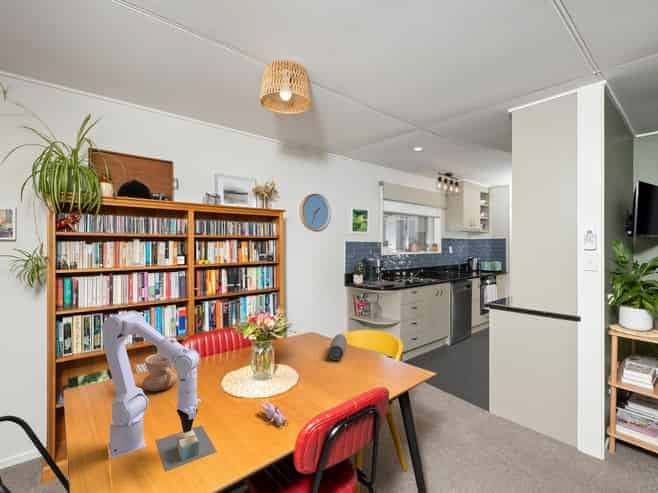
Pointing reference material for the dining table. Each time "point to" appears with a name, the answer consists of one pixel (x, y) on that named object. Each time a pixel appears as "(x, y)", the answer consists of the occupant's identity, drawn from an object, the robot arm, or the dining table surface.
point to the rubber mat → (171, 454)
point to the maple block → (187, 445)
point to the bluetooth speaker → (338, 347)
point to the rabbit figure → (274, 414)
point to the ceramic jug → (158, 373)
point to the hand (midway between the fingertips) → (187, 431)
